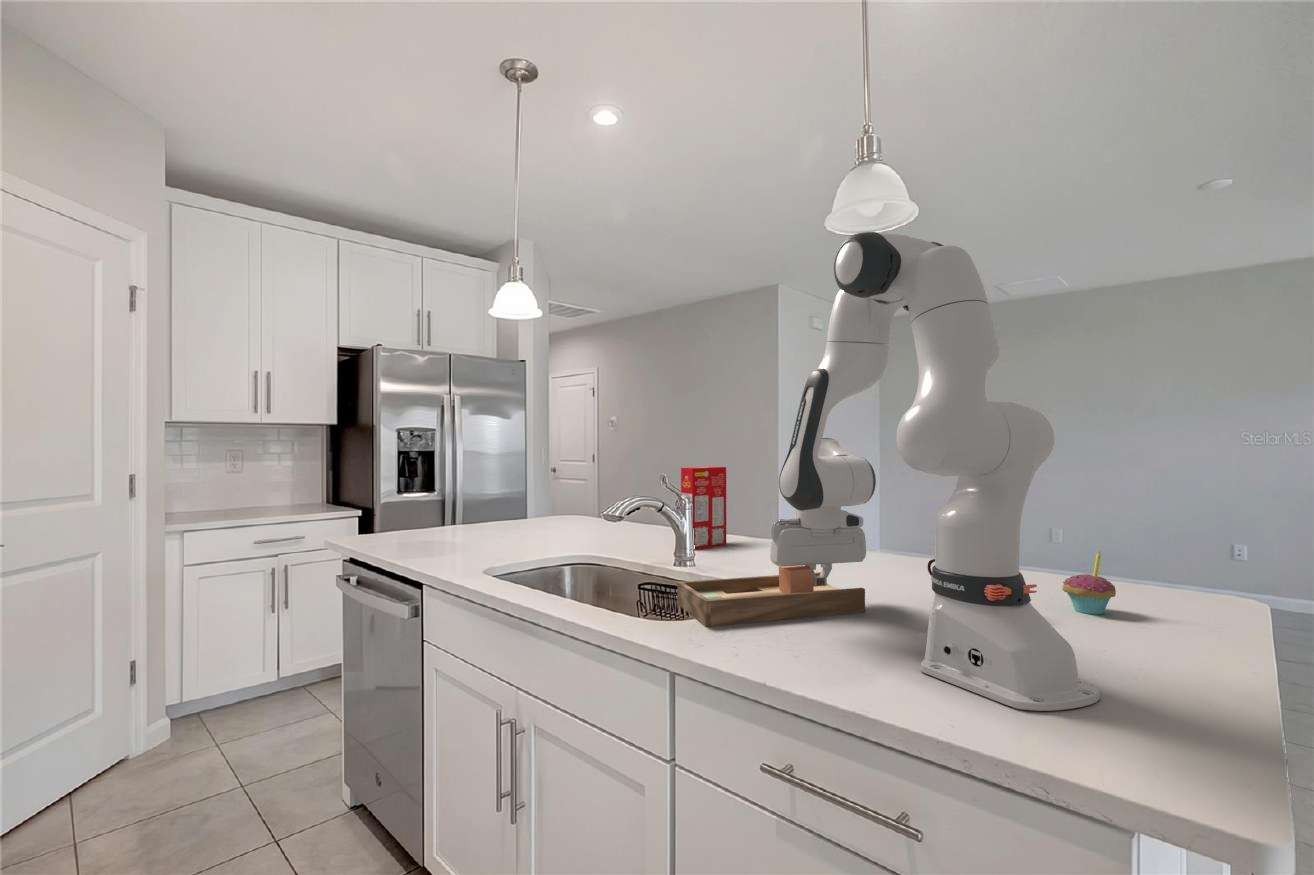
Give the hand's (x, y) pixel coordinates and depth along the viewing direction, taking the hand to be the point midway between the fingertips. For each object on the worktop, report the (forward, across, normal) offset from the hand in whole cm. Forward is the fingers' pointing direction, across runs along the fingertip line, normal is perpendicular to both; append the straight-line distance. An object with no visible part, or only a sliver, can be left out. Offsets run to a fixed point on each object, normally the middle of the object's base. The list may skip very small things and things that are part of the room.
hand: (818, 585), depth 127 cm
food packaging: (+4, +1, +72) cm, 72 cm away
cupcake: (+4, +48, -19) cm, 52 cm away
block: (+1, -5, 0) cm, 5 cm away
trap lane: (+4, -11, 0) cm, 11 cm away
